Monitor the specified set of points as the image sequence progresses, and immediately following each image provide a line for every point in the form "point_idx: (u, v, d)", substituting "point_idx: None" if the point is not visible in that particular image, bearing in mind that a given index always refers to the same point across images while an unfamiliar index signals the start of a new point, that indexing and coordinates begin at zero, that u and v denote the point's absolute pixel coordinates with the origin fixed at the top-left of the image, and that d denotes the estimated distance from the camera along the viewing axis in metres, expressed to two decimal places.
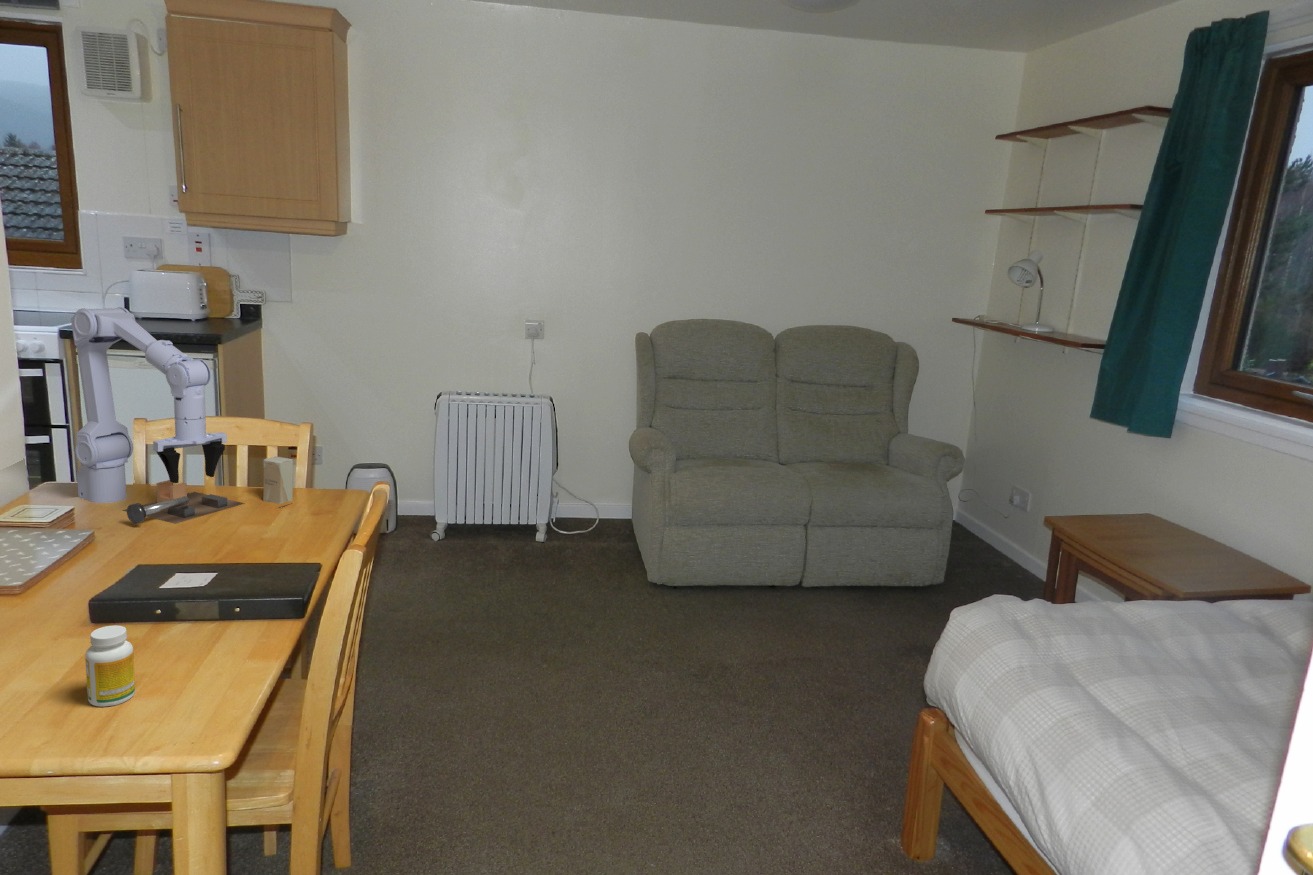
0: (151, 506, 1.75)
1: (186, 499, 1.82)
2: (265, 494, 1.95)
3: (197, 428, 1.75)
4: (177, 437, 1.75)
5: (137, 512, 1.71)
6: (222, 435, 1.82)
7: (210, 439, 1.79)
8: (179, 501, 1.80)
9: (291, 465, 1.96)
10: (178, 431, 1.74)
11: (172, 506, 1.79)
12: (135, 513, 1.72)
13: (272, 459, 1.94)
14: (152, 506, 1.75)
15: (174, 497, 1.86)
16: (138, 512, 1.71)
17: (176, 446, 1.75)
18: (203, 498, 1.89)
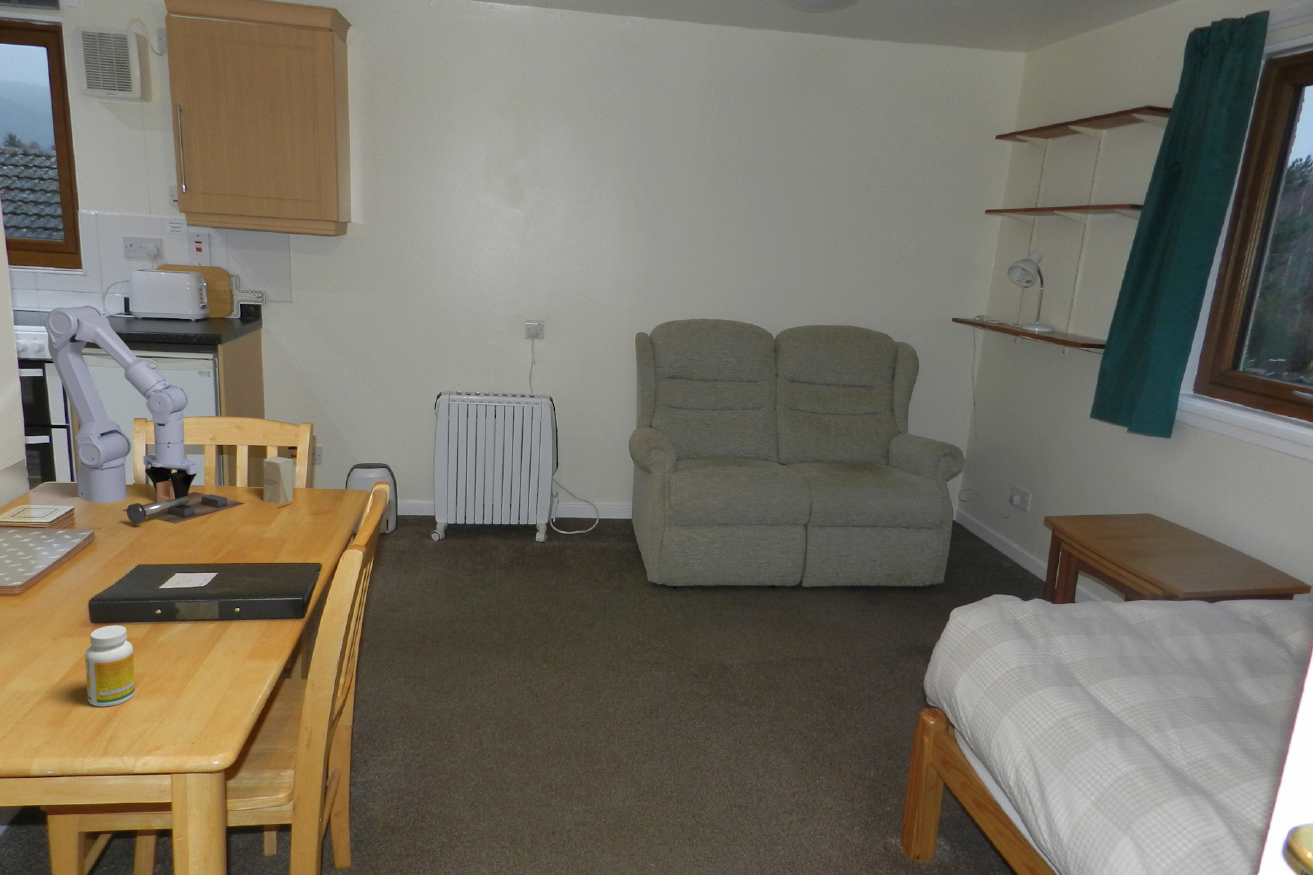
0: (151, 506, 1.75)
1: (186, 499, 1.82)
2: (265, 494, 1.95)
3: (157, 452, 1.84)
4: None
5: (137, 512, 1.71)
6: (186, 466, 1.84)
7: (171, 466, 1.84)
8: (179, 501, 1.80)
9: (291, 465, 1.96)
10: None
11: (172, 506, 1.79)
12: (135, 513, 1.72)
13: (272, 459, 1.94)
14: (152, 506, 1.75)
15: (174, 497, 1.86)
16: (138, 512, 1.71)
17: None
18: (203, 498, 1.89)
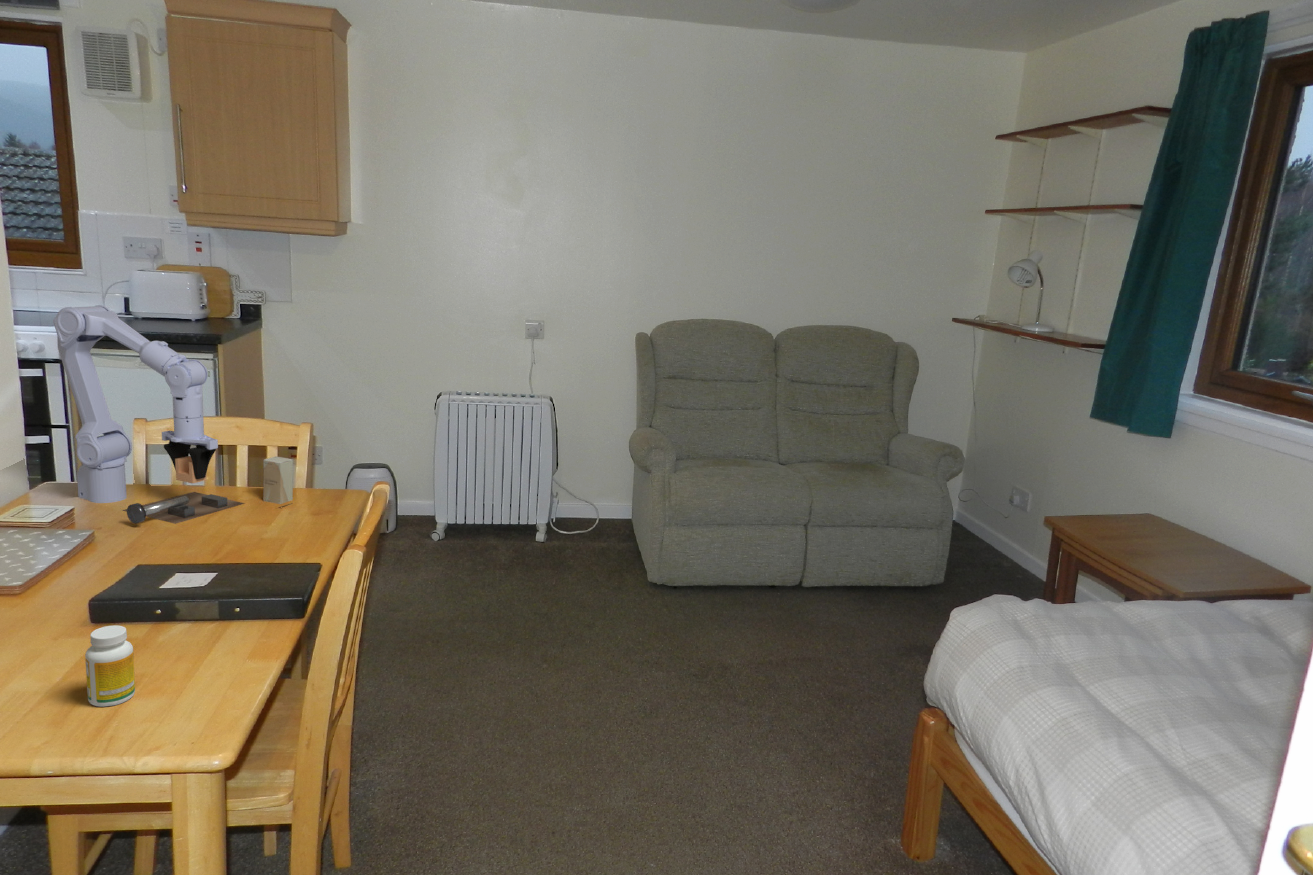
0: (151, 506, 1.75)
1: (186, 499, 1.82)
2: (265, 494, 1.95)
3: (176, 426, 1.80)
4: None
5: (137, 512, 1.71)
6: (206, 441, 1.80)
7: (190, 441, 1.81)
8: (179, 501, 1.80)
9: (291, 465, 1.96)
10: None
11: (172, 506, 1.79)
12: (135, 513, 1.72)
13: (272, 459, 1.94)
14: (152, 506, 1.75)
15: (193, 473, 1.83)
16: (138, 512, 1.71)
17: None
18: (203, 498, 1.89)
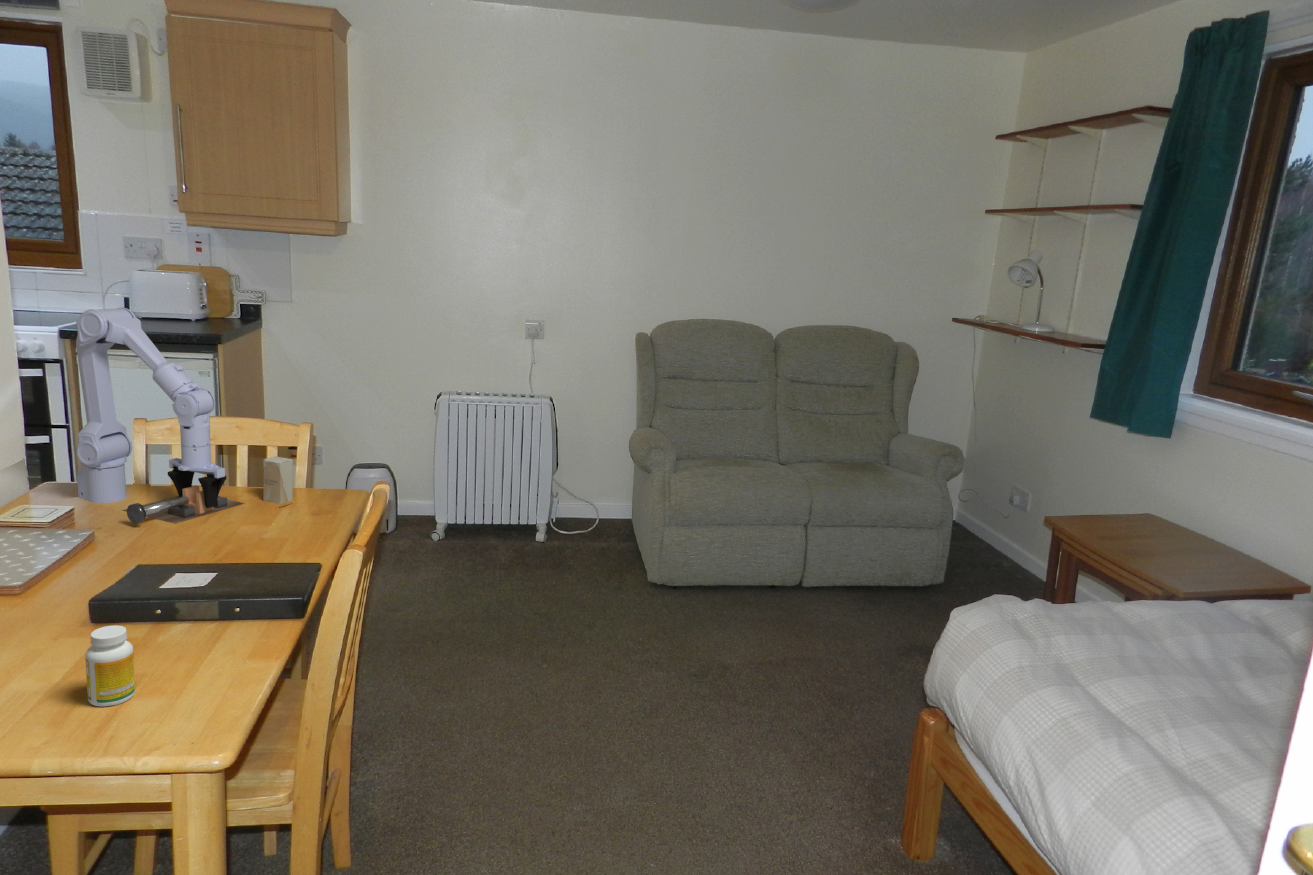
0: (151, 506, 1.75)
1: (186, 499, 1.82)
2: (265, 494, 1.95)
3: (184, 455, 1.81)
4: None
5: (137, 512, 1.71)
6: (213, 470, 1.81)
7: (198, 469, 1.81)
8: (179, 501, 1.80)
9: (291, 465, 1.96)
10: None
11: (172, 506, 1.79)
12: (135, 513, 1.72)
13: (272, 459, 1.94)
14: (152, 506, 1.75)
15: (200, 503, 1.84)
16: (138, 512, 1.71)
17: None
18: None
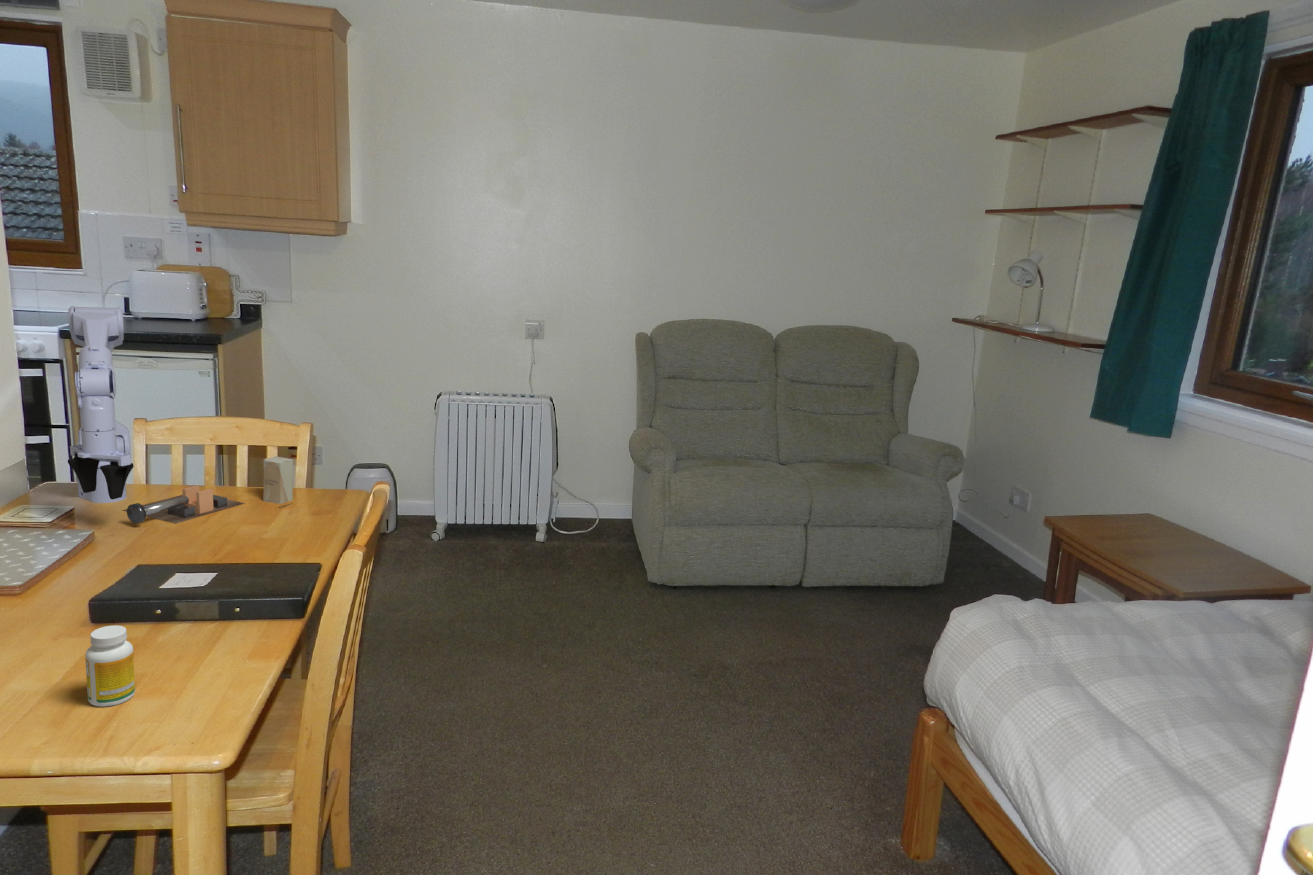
0: (151, 506, 1.75)
1: (186, 499, 1.82)
2: (265, 494, 1.95)
3: (84, 441, 1.63)
4: None
5: (137, 512, 1.71)
6: (117, 457, 1.63)
7: (100, 457, 1.64)
8: (179, 501, 1.80)
9: (291, 465, 1.96)
10: None
11: (172, 506, 1.79)
12: (135, 513, 1.72)
13: (272, 459, 1.94)
14: (152, 506, 1.75)
15: (200, 503, 1.84)
16: (138, 512, 1.71)
17: None
18: None
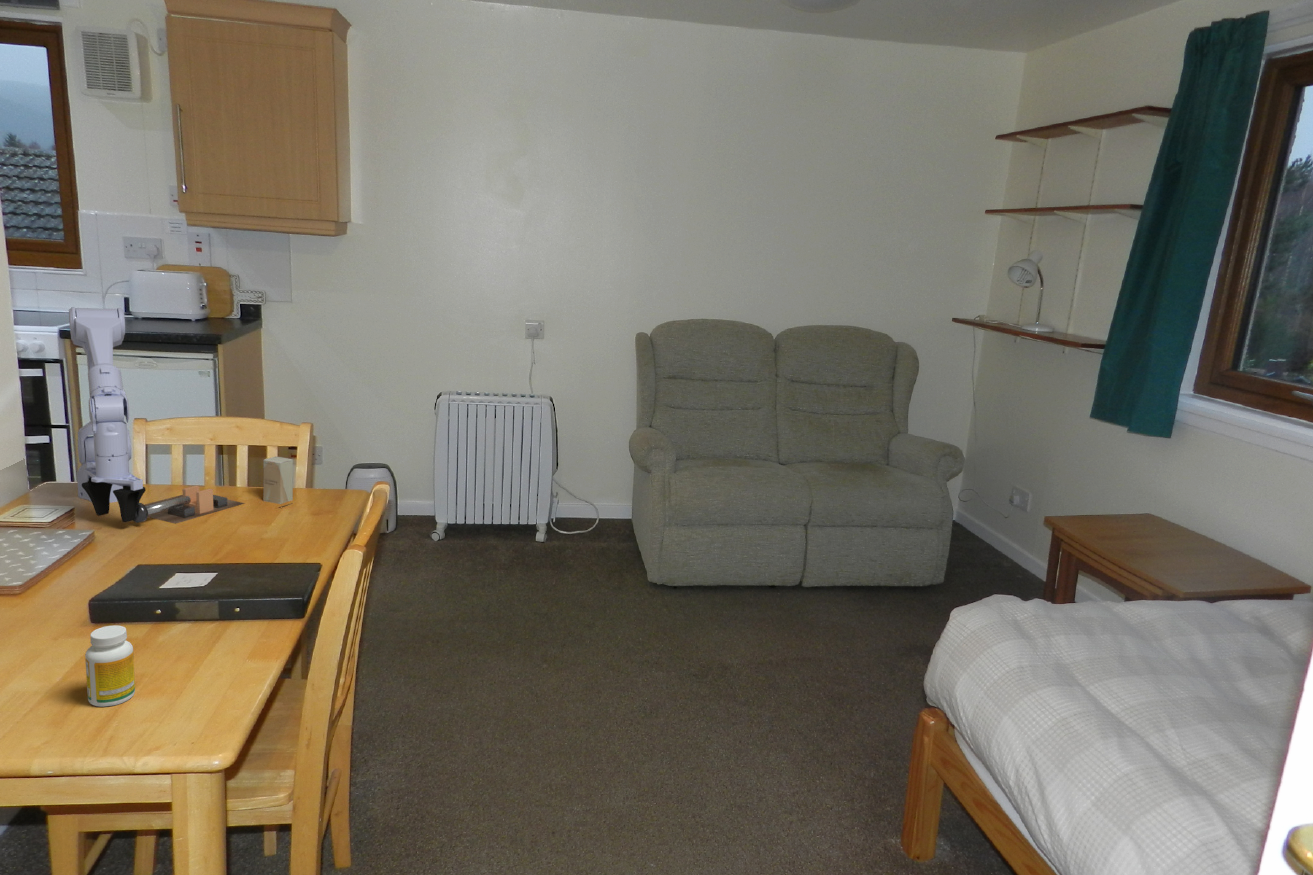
0: (153, 505, 1.75)
1: (188, 499, 1.82)
2: (265, 494, 1.95)
3: (98, 465, 1.67)
4: None
5: (139, 511, 1.72)
6: (129, 481, 1.67)
7: (113, 481, 1.67)
8: (181, 501, 1.81)
9: (291, 465, 1.96)
10: None
11: (174, 505, 1.79)
12: (136, 513, 1.72)
13: (272, 459, 1.94)
14: (154, 505, 1.75)
15: (200, 503, 1.84)
16: (140, 511, 1.72)
17: None
18: None
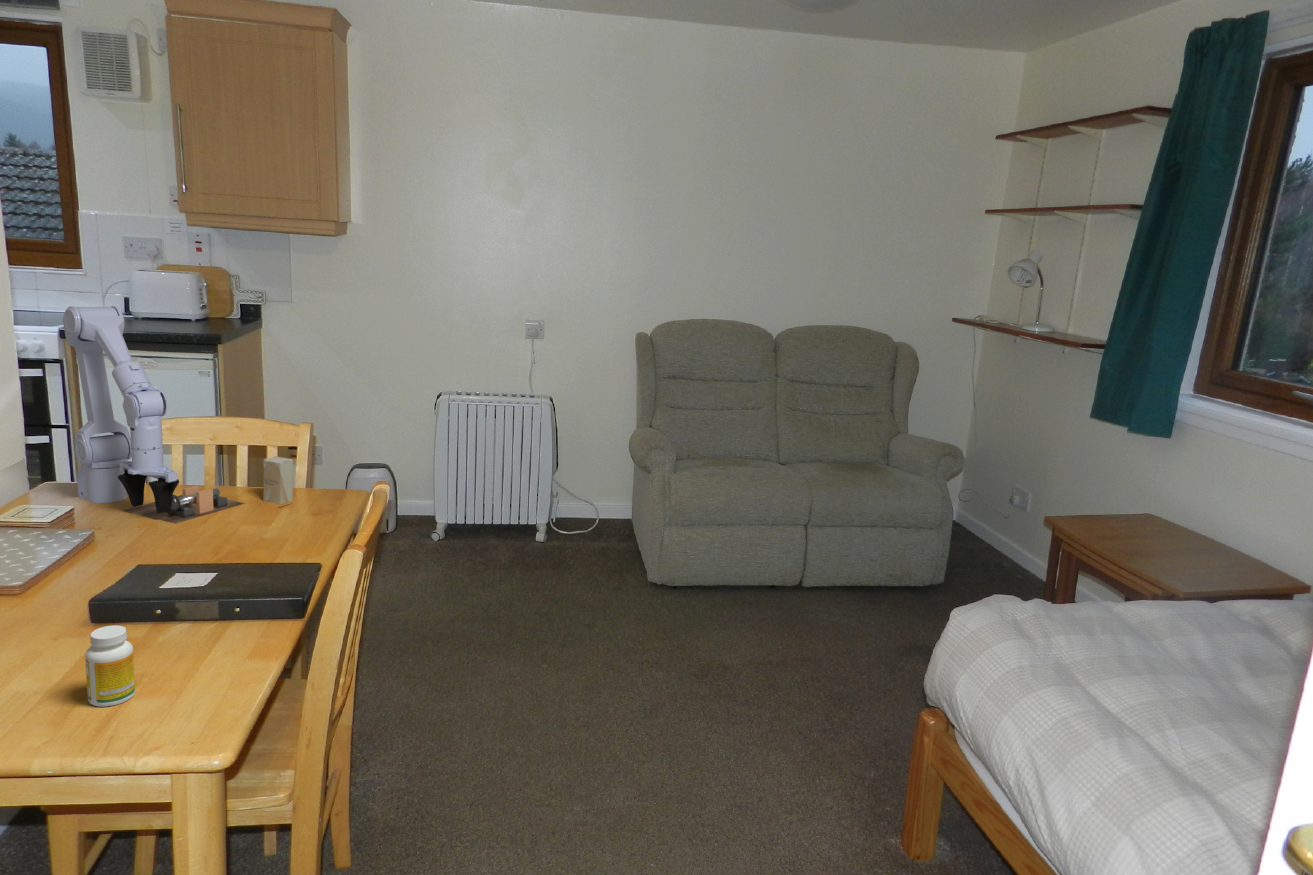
0: (185, 497, 1.82)
1: (217, 491, 1.89)
2: (265, 494, 1.95)
3: (134, 458, 1.74)
4: None
5: (172, 503, 1.79)
6: (164, 474, 1.74)
7: (148, 473, 1.74)
8: None
9: (291, 465, 1.96)
10: None
11: None
12: None
13: (272, 459, 1.94)
14: (186, 497, 1.82)
15: (200, 503, 1.84)
16: (173, 503, 1.78)
17: None
18: None
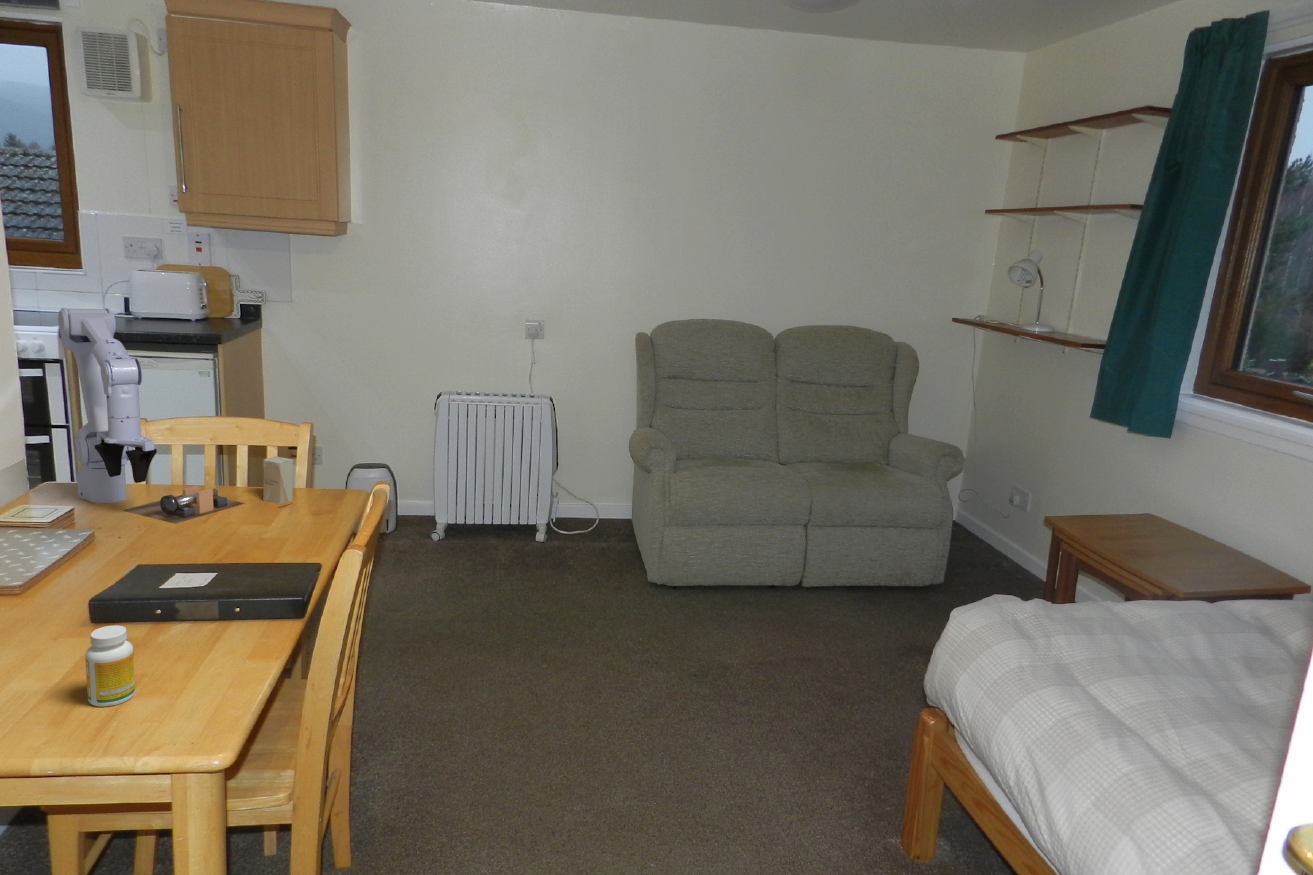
0: (183, 498, 1.82)
1: (215, 491, 1.89)
2: (265, 494, 1.95)
3: (110, 427, 1.72)
4: None
5: (170, 503, 1.78)
6: (141, 442, 1.72)
7: (125, 442, 1.72)
8: None
9: (291, 465, 1.96)
10: None
11: None
12: (168, 505, 1.78)
13: (272, 459, 1.94)
14: (184, 498, 1.82)
15: (200, 503, 1.84)
16: (171, 503, 1.78)
17: None
18: None
